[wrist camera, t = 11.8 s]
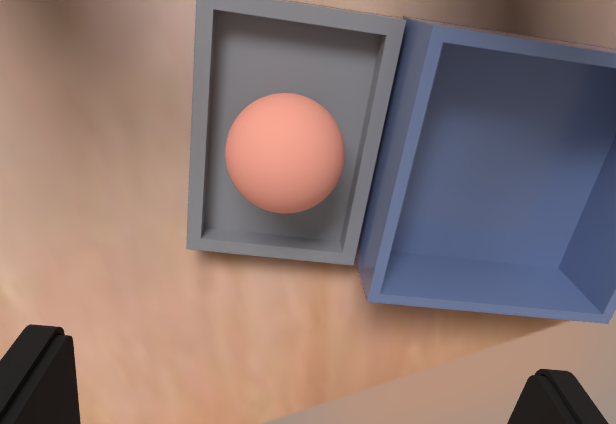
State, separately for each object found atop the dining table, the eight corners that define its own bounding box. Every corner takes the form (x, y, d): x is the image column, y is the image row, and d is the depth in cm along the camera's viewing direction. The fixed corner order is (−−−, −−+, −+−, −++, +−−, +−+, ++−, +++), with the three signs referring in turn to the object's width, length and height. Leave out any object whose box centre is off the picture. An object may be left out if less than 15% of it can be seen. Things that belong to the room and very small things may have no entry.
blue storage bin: (652, 55, 26) (737, 72, 21) (558, 271, 32) (608, 323, 28) (403, 16, 25) (433, 25, 20) (353, 250, 31) (366, 301, 26)
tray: (397, 17, 25) (406, 20, 23) (349, 248, 31) (353, 265, 29) (203, -13, 24) (196, -13, 22) (192, 232, 30) (186, 249, 28)
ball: (348, 89, 26) (362, 121, 20) (330, 190, 28) (338, 242, 23) (237, 73, 25) (221, 101, 20) (229, 178, 28) (213, 227, 23)
